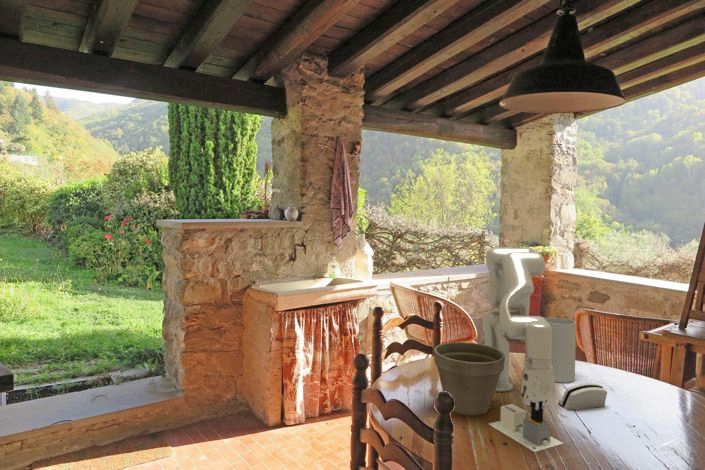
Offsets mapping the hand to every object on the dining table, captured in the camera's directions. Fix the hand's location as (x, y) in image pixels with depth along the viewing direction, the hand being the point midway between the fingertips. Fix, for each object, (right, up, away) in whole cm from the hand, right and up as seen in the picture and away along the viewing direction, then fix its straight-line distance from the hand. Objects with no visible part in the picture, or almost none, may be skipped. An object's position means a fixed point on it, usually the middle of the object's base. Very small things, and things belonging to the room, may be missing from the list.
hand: (536, 420), depth 144 cm
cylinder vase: (+32, -5, +57) cm, 66 cm away
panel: (-2, -7, +5) cm, 9 cm away
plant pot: (-15, -6, +25) cm, 30 cm away
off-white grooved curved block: (+28, -6, +28) cm, 41 cm away
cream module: (-4, -6, +9) cm, 12 cm away
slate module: (0, -6, 0) cm, 6 cm away
